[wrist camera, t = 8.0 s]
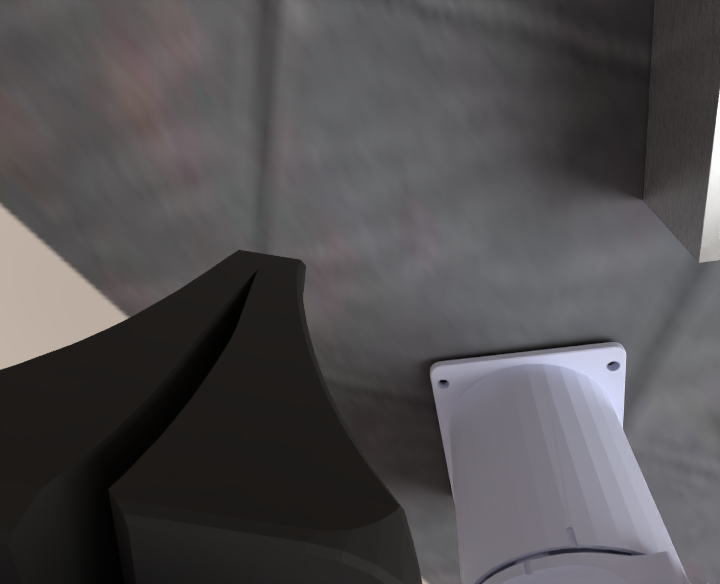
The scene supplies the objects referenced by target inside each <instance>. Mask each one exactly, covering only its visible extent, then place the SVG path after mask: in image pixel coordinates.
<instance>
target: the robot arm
mask: <svg viewBox="0 0 720 584" xmlns="http://www.w3.org/2000/svg"><path fill="white" fill-rule="evenodd" d="M305 272H306V266H305V264H304V263H303V262H302V260H299V259H292V258H286V257H280V256H274V255H267V254H261V253H255V252H249V251H242V250H238V251H237V252H235V253H233V254H232V255H230V256H229V257H227V258H226V259H225V260H223V261H222V262H220V263H219V264H217V265H216V266H214V267H213V268H211V269H210V270H208V271H207V272H205V273H204V274H202V275H201V276H199V277H198V278H196V279H195V280H193V281H192V282H190V283H189V284H187V285H186V286H184V287H182V288H181V289H179V290H178V291H176V292H175V293H173V294H171V295H169V296H168V297H166V298H164V299H162V300H161V301H159V302H157V303H155V304H154V305H152V306H150V307H148V308H147V309H145V310H143V311H141V312H140V313H138V314H136V315H134V316H132V317H130V318H128V319H127V320H125V321H123V322H121V323H118V324H117V325H114V326H112V327H110V328H108V329H106V330H104V331H101V332H99V333H97V334H95V335H93V336H90V337H88V338H86V339H84V340H81V341H79V342H76V343H74V344H72V345H69V346H66V347H63V348H61V349H58V350H56V351H53V352H50V353H47V354H44V355H42V356H39V357H36V358H33V359H31V360H28V361H25V362H23V363H20V364H17V365H14V366H11V367H8V368H5V369H2V370H0V584H422V580H421V574H420V569H419V564H418V560H417V556H416V552H415V548H414V543H413V540H412V536H411V533H410V529H409V526H408V522H407V519H406V515H405V512H404V510H403V508H402V507H401V506H400V504H399V503H398V502H397V500H396V499H395V498H394V497H393V495H392V494H391V493H390V491H389V490H388V489H387V488H386V486H385V485H384V483H383V482H382V481H381V479H380V478H379V477H378V475H377V474H376V472H375V471H374V470H373V468H372V467H371V465H370V464H369V462H368V460H367V459H366V457H365V456H364V454H363V453H362V451H361V450H360V448H359V447H358V445H357V444H356V442H355V440H354V438H353V436H352V435H351V433H350V431H349V429H348V427H347V426H346V424H345V422H344V420H343V418H342V416H341V415H340V413H339V411H338V409H337V407H336V405H335V403H334V401H333V399H332V397H331V394H330V392H329V390H328V388H327V386H326V383H325V381H324V378H323V375H322V373H321V370H320V368H319V365H318V362H317V359H316V356H315V353H314V349H313V346H312V342H311V339H310V335H309V331H308V327H307V322H306V316H305V310H304V304H303V292H304V282H305ZM613 361H616V363H614V364H612V365H607V364H609V363H610V362H613ZM625 370H626V352H625V349H624V348H623V346H622V345H621V344H620V343H617V342H607V343H598V344H589V345H581V346H572V347H563V348H554V349H545V350H536V351H528V352H519V353H510V354H501V355H492V356H483V357H475V358H466V359H457V360H448V361H440V362H436V363H434V364H433V365H432V366H431V368H430V378H431V383H432V388H433V393H434V399H435V404H436V409H437V415H438V420H439V425H440V430H441V436H442V441H443V446H444V451H445V457H446V462H447V467H448V473H449V478H450V483H451V488H452V494H453V499H454V503H455V509H456V522H457V534H458V547H459V560H460V573H461V584H691V582H690V581H689V579H688V578H687V576H686V574H685V571H684V569H683V567H682V564H681V562H680V560H679V558H678V555H677V553H676V551H675V548H674V546H673V544H672V541H671V539H670V537H669V535H668V532H667V530H666V528H665V525H664V523H663V521H662V519H661V516H660V514H659V512H658V509H657V507H656V505H655V502H654V500H653V498H652V496H651V493H650V491H649V489H648V486H647V484H646V482H645V479H644V477H643V475H642V473H641V470H640V468H639V466H638V463H637V461H636V459H635V456H634V454H633V452H632V450H631V447H630V445H629V443H628V440H627V438H626V436H625V434H624V431H623V411H624V390H625ZM440 380H447V382H445V383H441V382H439V381H440ZM705 584H717V583H715V582H708V583H705Z"/></svg>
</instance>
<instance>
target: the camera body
mask: <svg viewBox="0 0 720 584" xmlns="http://www.w3.org/2000/svg"><path fill="white" fill-rule="evenodd" d="M643 201H644V202H645V203H646V204H647V206H648V207H649V208H650V209H651V210H652V211H653V212H654V213H655V214H656V215H657V217H658V218H659V219H660V220H661V221H662V222H663V223H664V224H665V225H666V227H667V228H668V229H669V230H670V231H671V232H672V233H673V234H674V235H675V237H676V238H677V239H678V240H679V241H680V242H681V243H682V244H683V245H684V246H685V248H686V249H687V250H688V251H689V252H690V253H691V254H692V255H693V256H694V258H695V259H696V260H697V261H698V262H707V261H714V260H720V0H655V1H654V18H653V36H652V53H651V70H650V88H649V105H648V122H647V140H646V157H645V174H644V192H643Z"/></svg>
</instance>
